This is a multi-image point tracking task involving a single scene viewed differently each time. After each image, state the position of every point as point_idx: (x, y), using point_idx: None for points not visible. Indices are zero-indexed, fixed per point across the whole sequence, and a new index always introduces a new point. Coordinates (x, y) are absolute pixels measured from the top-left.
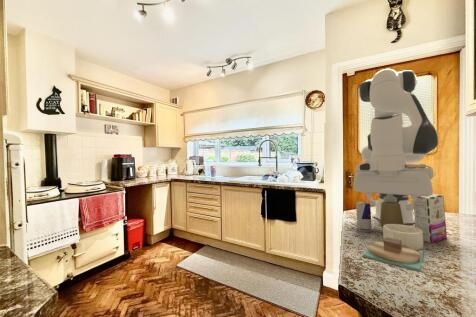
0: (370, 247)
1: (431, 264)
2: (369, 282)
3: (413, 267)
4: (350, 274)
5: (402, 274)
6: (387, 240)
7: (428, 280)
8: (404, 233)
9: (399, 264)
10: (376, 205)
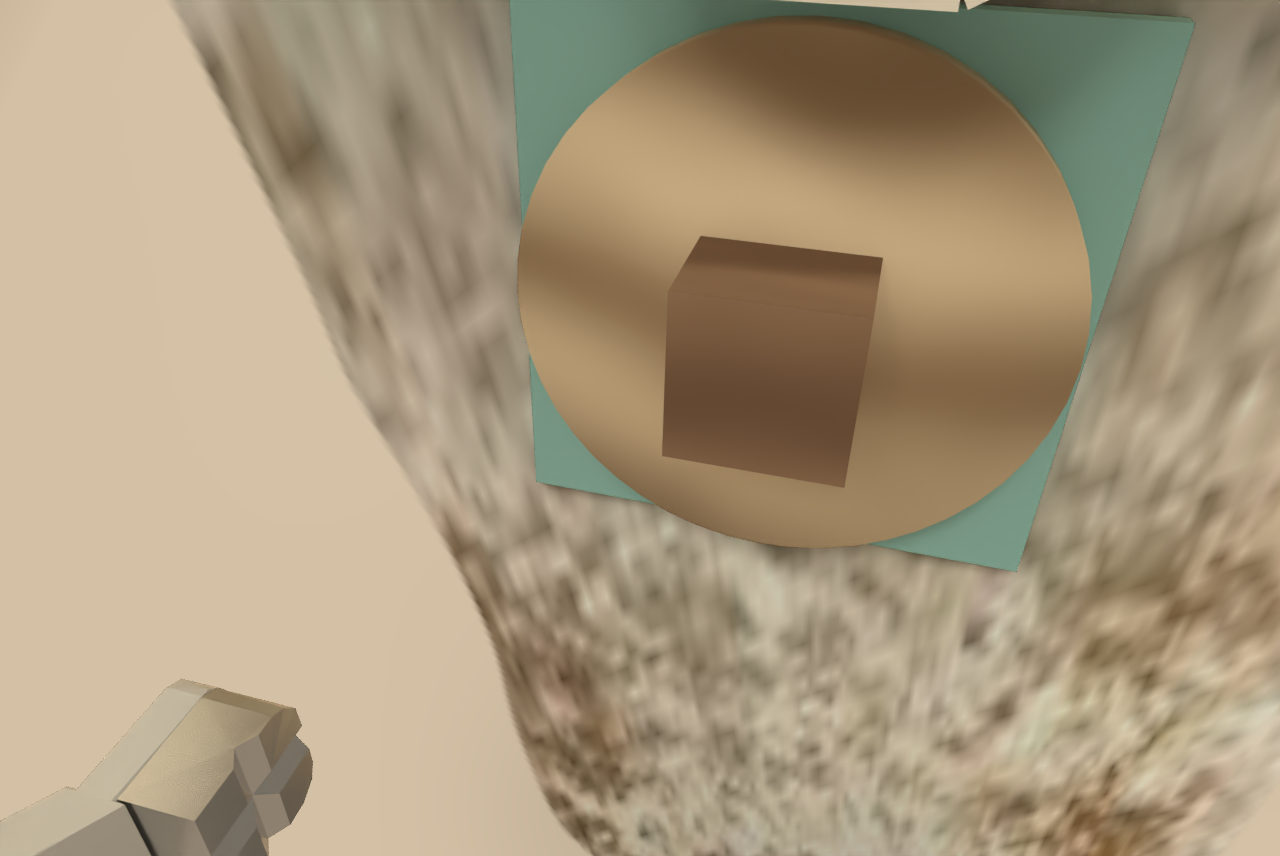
0: (555, 379)
1: (1183, 345)
2: (682, 801)
3: (964, 561)
4: (566, 757)
5: (867, 654)
6: (704, 434)
7: (1046, 674)
8: (948, 9)
9: None
10: (288, 710)
